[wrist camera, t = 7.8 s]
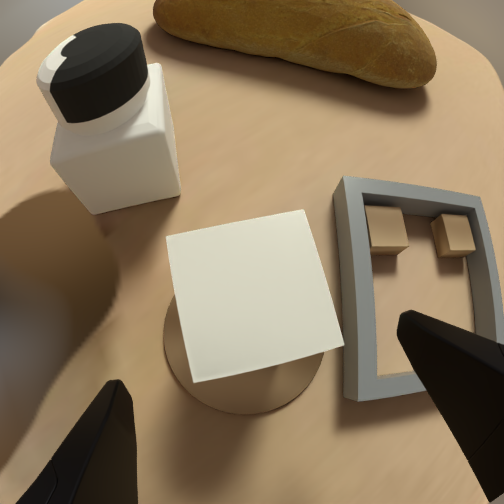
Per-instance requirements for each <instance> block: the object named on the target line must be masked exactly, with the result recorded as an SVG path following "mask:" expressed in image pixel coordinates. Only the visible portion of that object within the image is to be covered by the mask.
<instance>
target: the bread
mask: <svg viewBox="0 0 504 504" xmlns="http://www.w3.org/2000/svg"><path fill="white" fill-rule="evenodd" d="M153 16H154V19H155V20H156V22H157V24H158V25H159V26H160V27H161V28H162V29H163V30H165V31H166V32H168V33H169V34H171V35H174V36H176V37H179V38H181V39H185V40H189V41H192V42H196V43H201V44H206V45H210V46H214V47H218V48H225V49H232V50H236V51H239V52H243V53H247V54H254V55H261V56H264V57H279V58H282V59H284V60H287V61H289V62H293V63H297V64H301V65H306V66H309V67H312V68H316V69H320V70H323V71H329V72H334V73H347V74H350V75H353V76H355V77H357V78H360V79H363V80H366V81H369V82H372V83H375V84H378V85H382V86H387V87H393V88H416V87H421V86H423V85H425V84H427V83H428V82H429V81H430V80H431V79H432V78H433V77H434V75H435V72H436V66H437V61H436V56H435V52H434V50H433V48H432V46H431V43H430V41H429V39H428V37H427V36H426V34H425V33H424V31H423V30H422V28H421V27H420V26H419V24H418V23H417V22H416V21H415V20H414V19H413V18H412V17H411V16H410V14H409V13H407V12H406V11H405V10H404V9H403V8H402V7H400V6H399V5H397V4H396V3H395V2H393V1H392V0H156V1H155V3H154V6H153Z"/></svg>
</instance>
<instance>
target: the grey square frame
mask: <svg viewBox="0 0 504 504" xmlns="http://www.w3.org/2000/svg"><path fill="white" fill-rule="evenodd" d="M333 199H334V207H335V217H336V226H337V237H338V249H339V261H340V276H341V293H342V314H343V341H344V345H343V356H344V381H343V397H344V398H348V399H351V400H354V401H357V402H359V401H367V400H374V399H381V398H388V397H394V396H400V395H405V394H411V393H416V392H421V391H426V389H425V387H424V386H423V384H422V383H421V381H420V379H419V378H418V376H417V374H416V373H415V371H410V372H403V373H396V374H389V375H381V376H377V344H376V319H375V302H374V288H373V276H372V266H371V256H370V248H369V239H368V231H367V224H366V217H365V210H364V206H386V207H401V211H402V214H409V215H419V216H428V217H436V218H437V217H439V216H440V215H441V214H450V215H463V216H467V218H468V221H469V225H470V229H471V233H472V237H473V241H474V245H475V249H476V250H475V251H473V252H471V253H470V254H468V255H466V257H467V262H468V268H469V275H470V281H471V289H472V296H473V305H474V316H475V328H476V334H477V335H480V336H482V337H485V338H488V339H490V340H493V341H496V342H497V343H501V344H504V314H503V304H502V296H501V289H500V282H499V276H498V270H497V264H496V259H495V254H494V249H493V244H492V240H491V235H490V231H489V227H488V223H487V220H486V216H485V212H484V209H483V205H482V202H481V198H480V197H478V196H473V195H468V194H463V193H458V192H453V191H447V190H442V189H436V188H430V187H424V186H418V185H411V184H405V183H398V182H391V181H383V180H375V179H367V178H359V177H350V176H343V177H342V179H341V180H340V182H339V184H338V186H337V187H336V189H335V191H334V193H333Z"/></svg>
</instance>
